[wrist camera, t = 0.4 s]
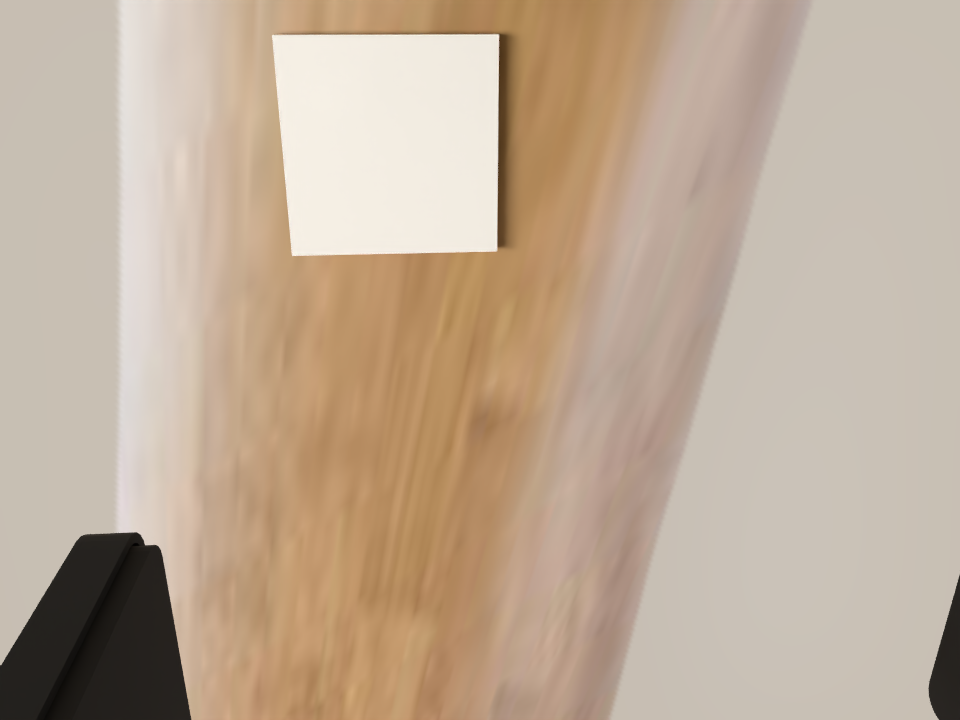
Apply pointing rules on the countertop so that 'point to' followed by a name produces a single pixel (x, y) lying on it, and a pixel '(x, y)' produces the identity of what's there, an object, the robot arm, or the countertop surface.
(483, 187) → the tile pad
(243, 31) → the countertop surface
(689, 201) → the countertop surface
